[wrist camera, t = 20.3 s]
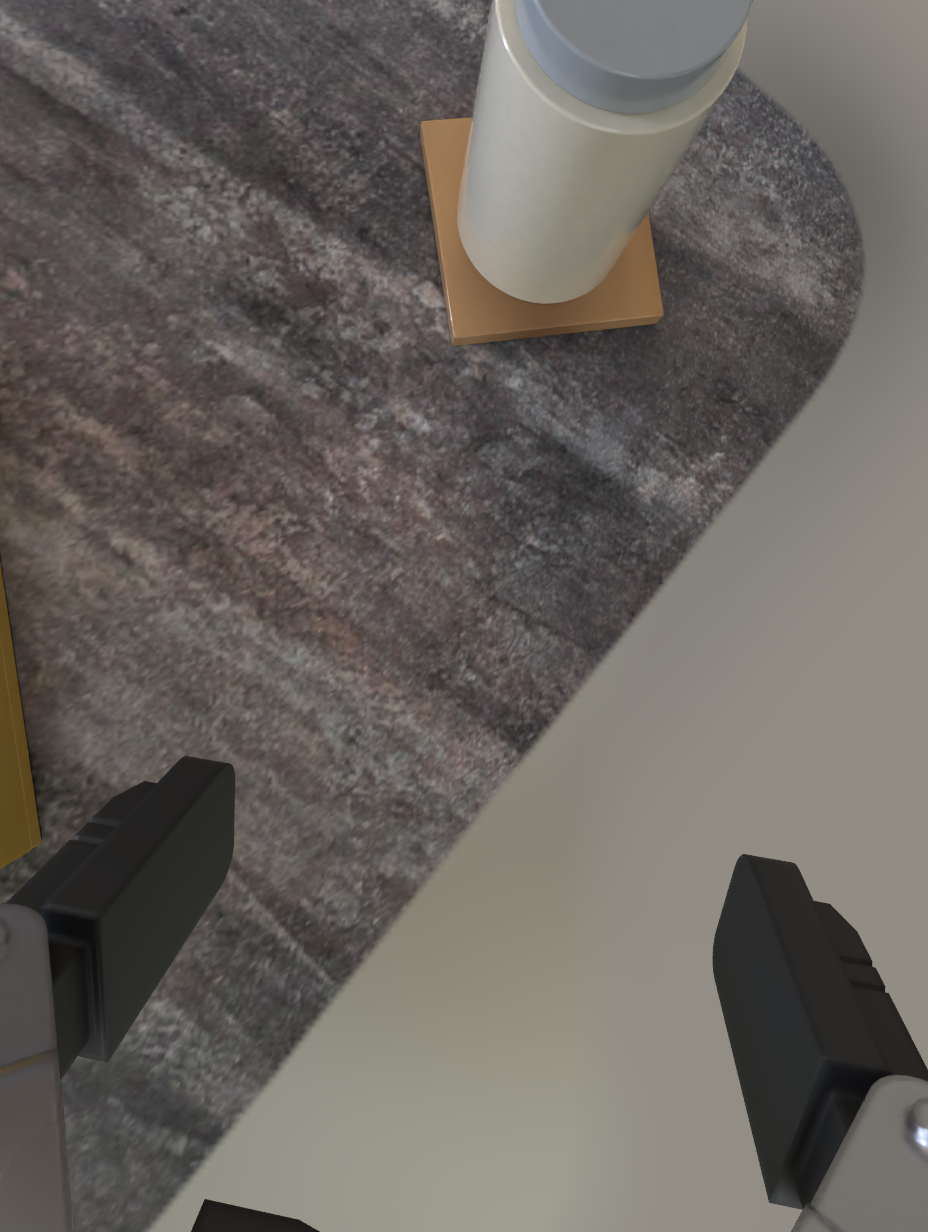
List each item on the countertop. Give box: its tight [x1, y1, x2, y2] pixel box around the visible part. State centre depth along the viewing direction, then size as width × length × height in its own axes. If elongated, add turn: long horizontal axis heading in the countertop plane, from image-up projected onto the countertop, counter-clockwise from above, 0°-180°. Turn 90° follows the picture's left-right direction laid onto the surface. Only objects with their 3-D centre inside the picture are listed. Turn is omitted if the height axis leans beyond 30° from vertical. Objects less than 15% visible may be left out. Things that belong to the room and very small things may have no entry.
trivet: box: [420, 117, 664, 346], centre depth 27 cm, size 8×8×1 cm
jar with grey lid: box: [457, 0, 753, 304], centre depth 21 cm, size 6×6×10 cm
